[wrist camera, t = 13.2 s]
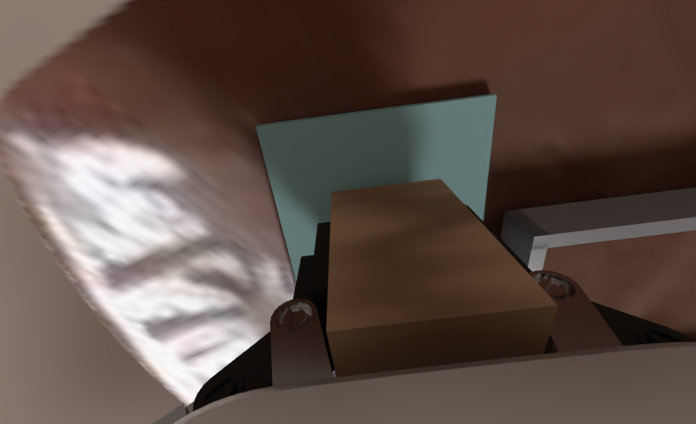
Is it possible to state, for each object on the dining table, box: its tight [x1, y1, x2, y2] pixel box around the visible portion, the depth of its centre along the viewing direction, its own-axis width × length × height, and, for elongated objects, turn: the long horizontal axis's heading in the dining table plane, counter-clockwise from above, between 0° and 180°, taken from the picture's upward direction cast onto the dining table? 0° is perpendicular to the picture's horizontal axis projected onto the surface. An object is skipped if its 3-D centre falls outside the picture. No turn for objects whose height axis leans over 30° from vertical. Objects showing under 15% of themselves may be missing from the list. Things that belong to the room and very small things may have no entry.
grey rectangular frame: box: [501, 187, 696, 272], centre depth 17 cm, size 17×14×2 cm
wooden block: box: [326, 179, 558, 377], centre depth 10 cm, size 4×4×7 cm
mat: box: [256, 94, 497, 281], centre depth 14 cm, size 10×10×1 cm
